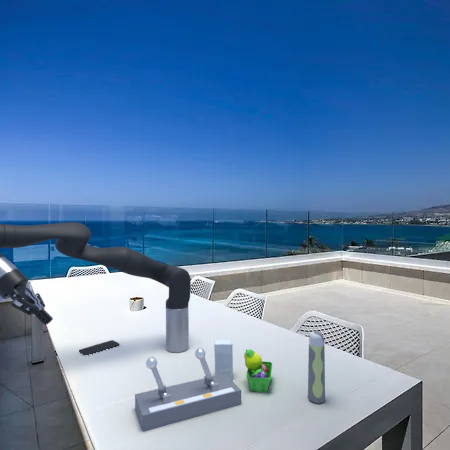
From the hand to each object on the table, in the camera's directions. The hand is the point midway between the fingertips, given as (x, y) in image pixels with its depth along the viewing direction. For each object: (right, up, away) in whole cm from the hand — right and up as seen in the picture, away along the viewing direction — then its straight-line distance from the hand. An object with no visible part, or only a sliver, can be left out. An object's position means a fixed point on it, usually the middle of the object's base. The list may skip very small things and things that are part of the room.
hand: (49, 322), depth 90 cm
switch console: (+38, -25, +3) cm, 46 cm away
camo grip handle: (+75, -25, +6) cm, 80 cm away
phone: (-3, -25, +44) cm, 51 cm away
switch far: (+44, -20, +6) cm, 49 cm away
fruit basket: (+59, -25, +15) cm, 66 cm away
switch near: (+32, -20, 0) cm, 37 cm away
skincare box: (+48, -25, +20) cm, 57 cm away
